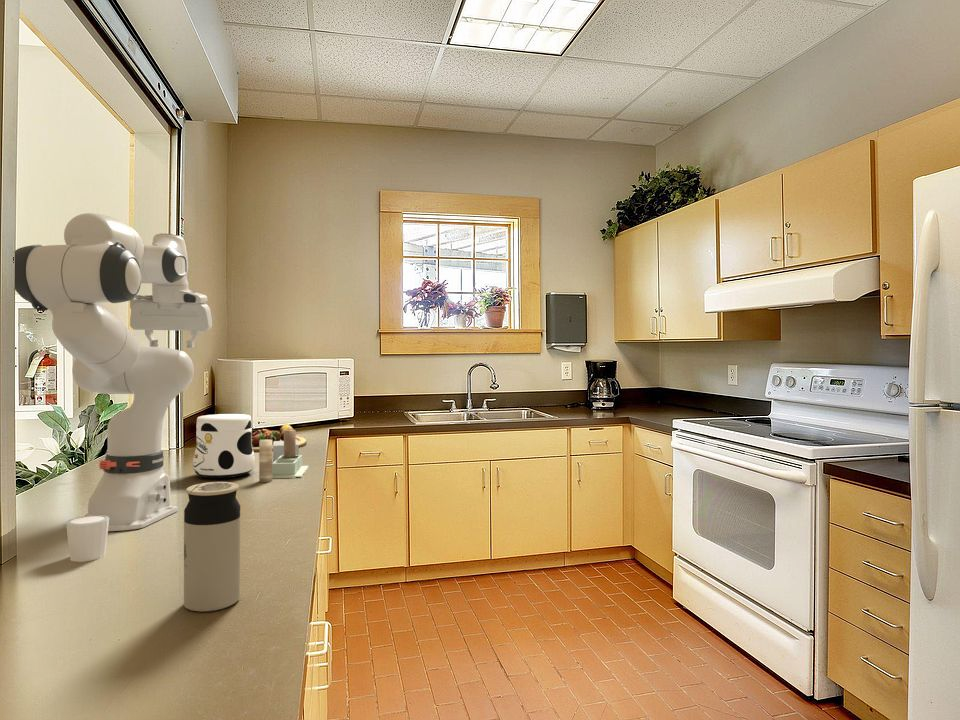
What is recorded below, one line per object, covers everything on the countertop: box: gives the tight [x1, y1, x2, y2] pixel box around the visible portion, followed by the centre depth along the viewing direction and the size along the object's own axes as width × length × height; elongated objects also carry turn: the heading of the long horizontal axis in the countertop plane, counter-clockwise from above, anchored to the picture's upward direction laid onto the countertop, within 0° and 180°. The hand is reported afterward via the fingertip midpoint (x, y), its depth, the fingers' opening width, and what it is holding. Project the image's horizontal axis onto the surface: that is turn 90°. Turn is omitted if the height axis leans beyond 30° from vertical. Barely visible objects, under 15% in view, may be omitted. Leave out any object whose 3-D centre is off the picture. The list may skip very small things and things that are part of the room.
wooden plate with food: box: [251, 423, 308, 453], centre depth 247 cm, size 32×32×8 cm
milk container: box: [192, 413, 256, 479], centre depth 189 cm, size 17×17×18 cm
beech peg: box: [258, 439, 273, 483], centre depth 182 cm, size 4×4×12 cm
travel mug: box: [183, 481, 241, 613], centre depth 96 cm, size 8×8×18 cm
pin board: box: [272, 429, 310, 479], centre depth 195 cm, size 16×11×13 cm
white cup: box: [65, 515, 109, 563], centre depth 116 cm, size 7×7×7 cm
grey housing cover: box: [272, 440, 300, 463], centre depth 209 cm, size 10×8×7 cm
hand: (172, 347), depth 169 cm, fingers open, 8 cm apart
